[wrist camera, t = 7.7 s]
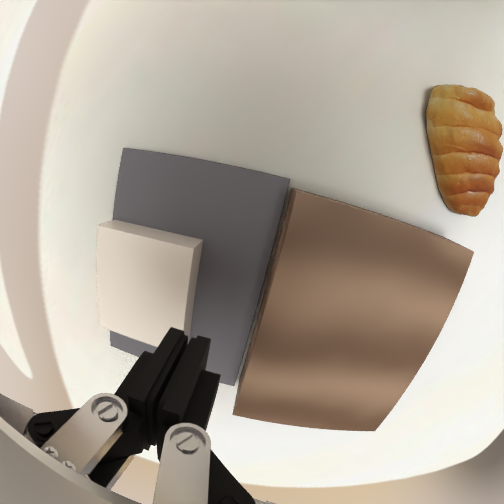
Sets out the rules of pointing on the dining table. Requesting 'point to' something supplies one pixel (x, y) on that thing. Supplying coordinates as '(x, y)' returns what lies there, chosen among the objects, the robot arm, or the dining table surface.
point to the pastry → (464, 146)
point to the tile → (145, 280)
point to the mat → (207, 240)
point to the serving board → (346, 316)
